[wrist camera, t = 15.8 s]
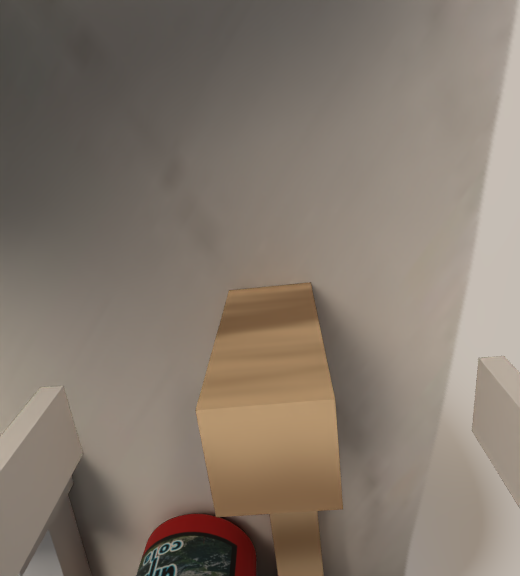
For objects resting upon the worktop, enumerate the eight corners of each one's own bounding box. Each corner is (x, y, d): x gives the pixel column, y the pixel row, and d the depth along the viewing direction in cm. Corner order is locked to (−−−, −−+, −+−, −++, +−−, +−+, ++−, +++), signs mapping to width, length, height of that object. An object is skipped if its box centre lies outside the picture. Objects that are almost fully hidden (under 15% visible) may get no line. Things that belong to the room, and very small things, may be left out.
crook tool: (115, 301, 23) (5, 425, 14) (310, 282, 22) (334, 399, 13) (189, 611, 31) (149, 829, 21) (337, 603, 30) (365, 826, 20)
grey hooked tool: (-3, 435, 26) (-79, 521, 21) (59, 431, 26) (-1, 518, 20) (56, 609, 31) (8, 719, 25) (109, 608, 31) (72, 717, 25)
